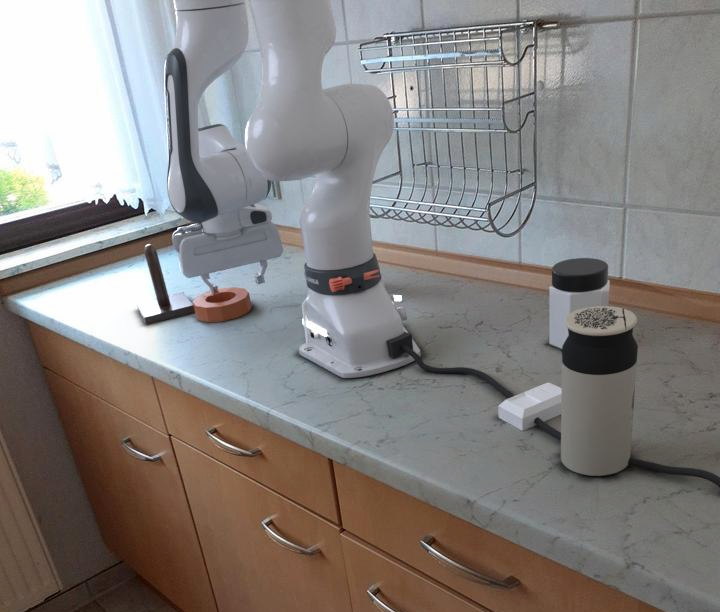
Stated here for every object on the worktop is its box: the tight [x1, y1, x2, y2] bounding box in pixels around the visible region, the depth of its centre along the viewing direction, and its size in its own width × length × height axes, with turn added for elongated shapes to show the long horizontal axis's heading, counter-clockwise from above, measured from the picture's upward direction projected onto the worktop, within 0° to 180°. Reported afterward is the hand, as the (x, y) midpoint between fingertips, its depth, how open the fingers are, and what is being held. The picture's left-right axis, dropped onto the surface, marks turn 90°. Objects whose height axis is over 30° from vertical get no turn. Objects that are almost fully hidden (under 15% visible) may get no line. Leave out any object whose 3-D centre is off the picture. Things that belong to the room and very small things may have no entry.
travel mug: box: [560, 305, 639, 477], centre depth 90 cm, size 8×8×18 cm
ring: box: [192, 286, 253, 323], centre depth 156 cm, size 11×11×3 cm
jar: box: [548, 257, 611, 350], centre depth 121 cm, size 9×8×12 cm
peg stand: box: [136, 243, 195, 325], centre depth 158 cm, size 10×10×14 cm
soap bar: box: [497, 382, 562, 432], centre depth 106 cm, size 5×9×3 cm, turn 120°
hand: (237, 288), depth 156 cm, fingers open, 8 cm apart
